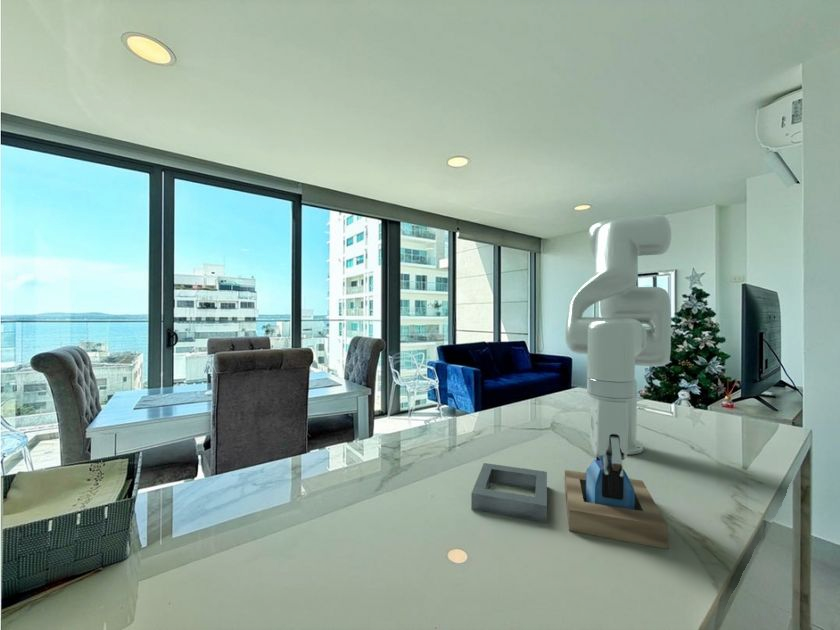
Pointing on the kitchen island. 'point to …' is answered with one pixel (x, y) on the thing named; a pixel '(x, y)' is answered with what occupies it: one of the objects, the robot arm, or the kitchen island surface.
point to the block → (508, 501)
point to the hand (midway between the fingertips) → (608, 486)
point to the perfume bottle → (596, 487)
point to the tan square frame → (615, 515)
